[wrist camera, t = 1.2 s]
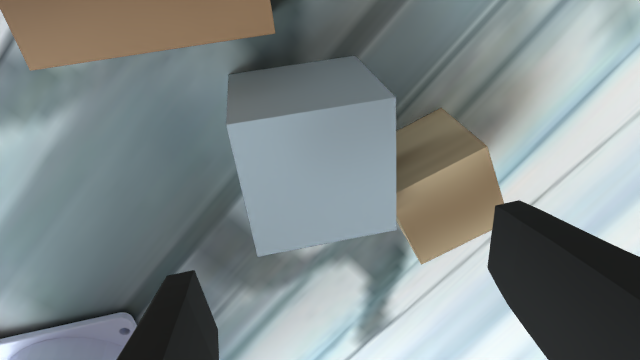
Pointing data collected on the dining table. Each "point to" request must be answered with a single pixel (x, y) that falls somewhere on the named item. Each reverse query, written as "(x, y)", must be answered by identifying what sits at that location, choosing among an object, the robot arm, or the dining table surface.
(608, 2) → the dining table surface
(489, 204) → the oak block
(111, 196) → the dining table surface
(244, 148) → the light grey cube
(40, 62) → the walnut base
